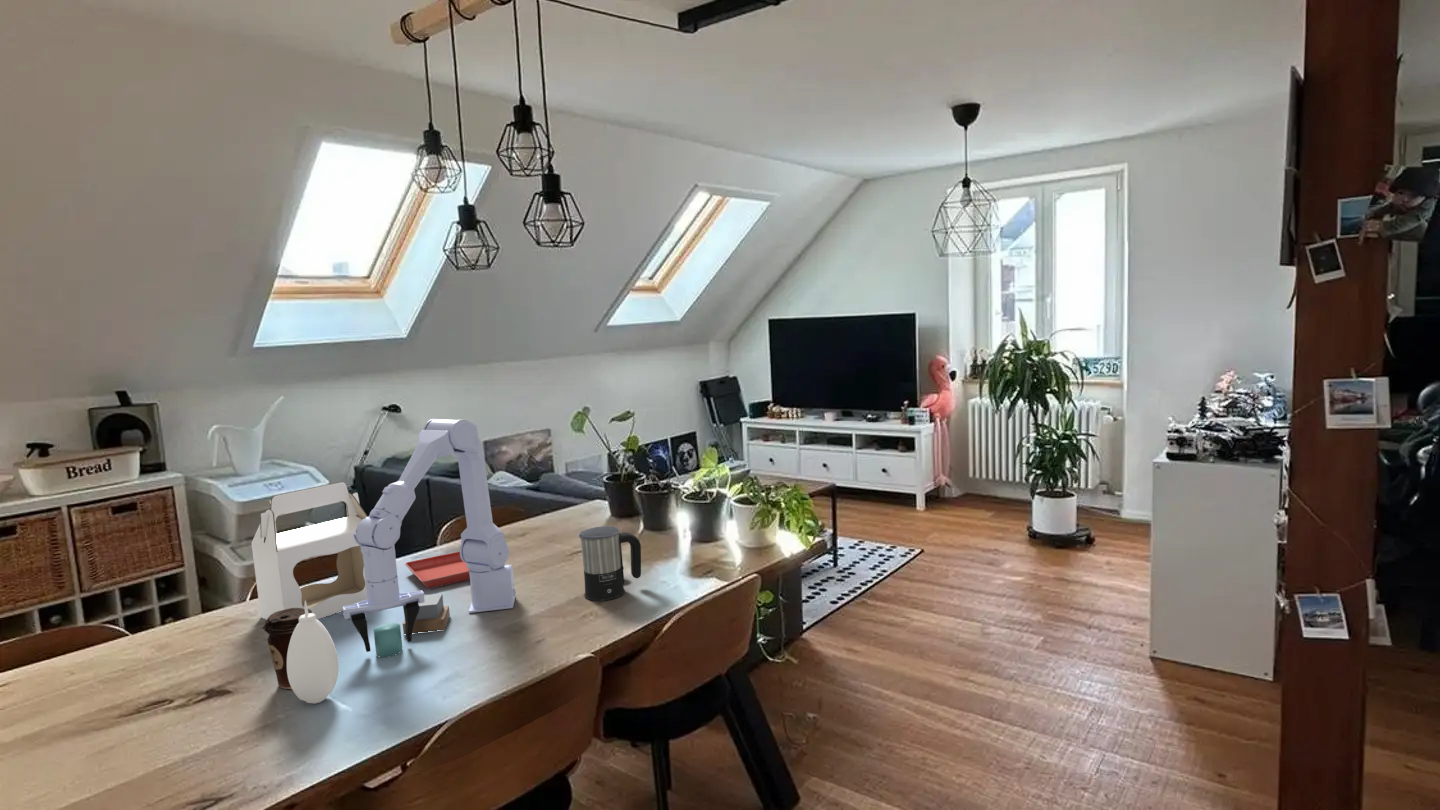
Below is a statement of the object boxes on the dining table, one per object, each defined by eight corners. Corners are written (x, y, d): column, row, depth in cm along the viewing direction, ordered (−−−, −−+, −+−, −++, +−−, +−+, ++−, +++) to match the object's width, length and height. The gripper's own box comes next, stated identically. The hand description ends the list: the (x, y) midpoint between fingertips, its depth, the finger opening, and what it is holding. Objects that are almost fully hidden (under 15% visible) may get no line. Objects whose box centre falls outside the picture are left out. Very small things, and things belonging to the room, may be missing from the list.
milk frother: (597, 605, 175) (593, 539, 173) (561, 588, 187) (556, 527, 185) (649, 587, 184) (645, 525, 183) (612, 573, 196) (607, 514, 194)
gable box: (356, 588, 195) (343, 476, 192) (384, 598, 187) (371, 481, 183) (259, 618, 178) (243, 496, 174) (285, 630, 170) (269, 502, 166)
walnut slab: (450, 618, 173) (448, 605, 172) (444, 633, 165) (443, 619, 165) (411, 623, 171) (410, 609, 171) (404, 637, 164) (402, 623, 163)
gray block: (443, 606, 172) (442, 593, 171) (438, 618, 165) (436, 604, 165) (412, 609, 171) (410, 596, 170) (405, 621, 164) (404, 607, 164)
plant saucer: (497, 576, 199) (496, 563, 199) (423, 594, 189) (421, 580, 189) (475, 560, 214) (474, 548, 214) (405, 575, 204) (404, 562, 204)
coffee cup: (268, 697, 139) (260, 626, 137) (270, 679, 146) (262, 611, 144) (324, 684, 143) (316, 615, 141) (323, 667, 150) (315, 601, 148)
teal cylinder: (404, 645, 158) (402, 621, 158) (399, 655, 154) (397, 631, 153) (379, 648, 158) (376, 624, 157) (373, 658, 153) (370, 634, 152)
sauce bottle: (289, 716, 132) (276, 612, 129) (293, 696, 139) (281, 597, 136) (341, 705, 135) (329, 603, 132) (342, 686, 142) (331, 589, 140)
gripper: (417, 565, 161) (423, 629, 162) (338, 580, 154) (346, 647, 155) (423, 574, 155) (430, 640, 156) (342, 590, 148) (349, 660, 149)
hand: (388, 644), depth 155 cm, fingers open, 7 cm apart
